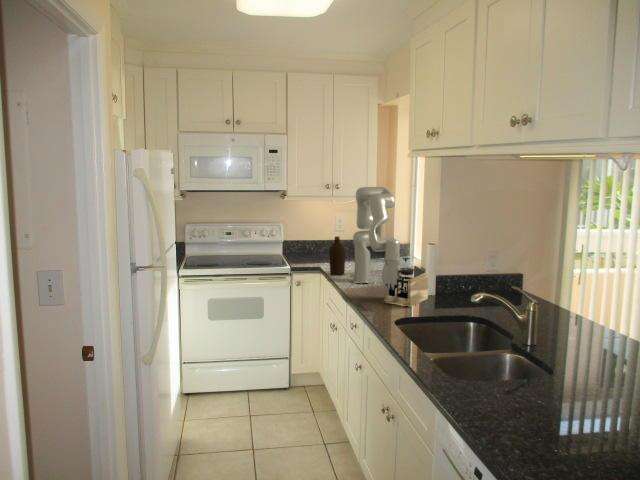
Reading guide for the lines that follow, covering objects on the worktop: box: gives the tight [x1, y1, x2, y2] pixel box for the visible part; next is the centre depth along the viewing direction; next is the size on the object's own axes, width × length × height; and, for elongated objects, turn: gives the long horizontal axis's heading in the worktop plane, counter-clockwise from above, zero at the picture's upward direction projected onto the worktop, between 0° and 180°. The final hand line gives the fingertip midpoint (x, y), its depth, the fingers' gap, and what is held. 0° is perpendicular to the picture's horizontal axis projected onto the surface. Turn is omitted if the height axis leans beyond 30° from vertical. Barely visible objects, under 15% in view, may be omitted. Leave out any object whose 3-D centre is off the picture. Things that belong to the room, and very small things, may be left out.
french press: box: [396, 257, 415, 299], centre depth 255 cm, size 12×9×23 cm
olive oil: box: [328, 236, 346, 276], centre depth 321 cm, size 11×11×25 cm
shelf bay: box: [383, 272, 429, 306], centre depth 255 cm, size 15×21×14 cm
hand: (391, 296), depth 261 cm, fingers closed
